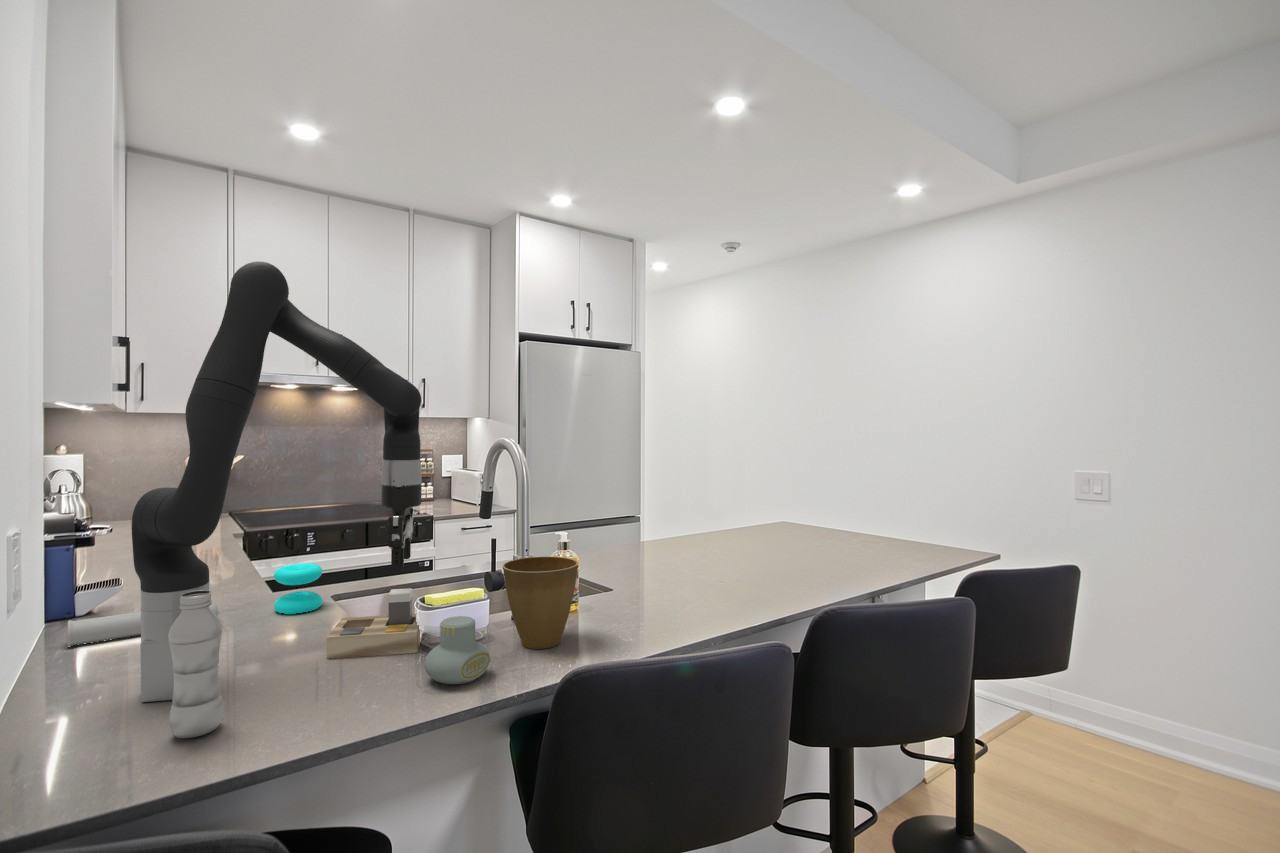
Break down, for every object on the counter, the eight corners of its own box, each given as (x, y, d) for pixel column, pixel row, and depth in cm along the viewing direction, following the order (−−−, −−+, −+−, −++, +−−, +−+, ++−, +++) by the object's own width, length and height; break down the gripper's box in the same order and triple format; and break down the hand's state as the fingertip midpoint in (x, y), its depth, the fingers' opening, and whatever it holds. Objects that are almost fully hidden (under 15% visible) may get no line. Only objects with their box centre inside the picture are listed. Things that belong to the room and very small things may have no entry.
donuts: (327, 567, 152) (280, 574, 146) (328, 610, 152) (280, 618, 146) (314, 560, 160) (269, 566, 153) (315, 601, 160) (269, 609, 153)
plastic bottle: (234, 721, 97) (233, 586, 96) (205, 744, 90) (204, 599, 90) (189, 722, 97) (188, 587, 96) (157, 745, 90) (156, 600, 89)
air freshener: (452, 695, 106) (452, 633, 106) (416, 684, 110) (416, 625, 110) (497, 672, 116) (497, 616, 116) (462, 663, 120) (462, 609, 120)
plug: (409, 643, 130) (409, 593, 130) (388, 644, 129) (388, 594, 129) (412, 636, 134) (412, 588, 134) (391, 638, 133) (391, 589, 133)
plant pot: (593, 639, 133) (593, 560, 133) (543, 662, 121) (543, 575, 120) (538, 626, 141) (538, 552, 141) (486, 646, 129) (486, 565, 129)
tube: (216, 600, 147) (68, 621, 131) (219, 598, 143) (67, 619, 127) (217, 625, 145) (68, 649, 129) (220, 623, 141) (67, 647, 126)
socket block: (416, 652, 125) (416, 630, 125) (326, 658, 122) (326, 635, 122) (424, 632, 137) (424, 611, 137) (342, 637, 134) (342, 616, 134)
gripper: (388, 479, 137) (388, 556, 137) (374, 485, 123) (373, 571, 123) (425, 479, 139) (425, 555, 139) (416, 485, 125) (415, 570, 125)
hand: (401, 563), depth 131 cm, fingers open, 8 cm apart
